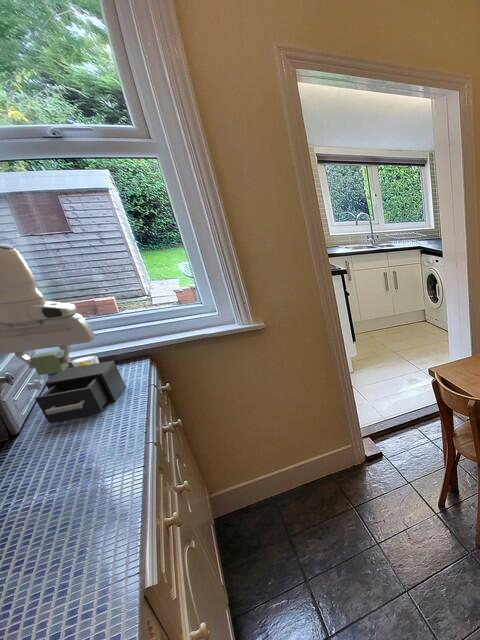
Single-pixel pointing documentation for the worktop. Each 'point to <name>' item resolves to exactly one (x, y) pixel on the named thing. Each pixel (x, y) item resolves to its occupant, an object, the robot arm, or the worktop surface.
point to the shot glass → (85, 360)
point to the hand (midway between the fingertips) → (51, 364)
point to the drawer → (73, 399)
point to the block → (48, 362)
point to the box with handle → (104, 370)
